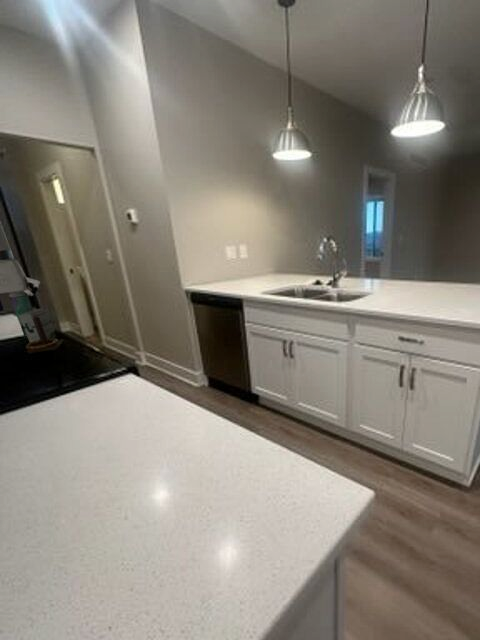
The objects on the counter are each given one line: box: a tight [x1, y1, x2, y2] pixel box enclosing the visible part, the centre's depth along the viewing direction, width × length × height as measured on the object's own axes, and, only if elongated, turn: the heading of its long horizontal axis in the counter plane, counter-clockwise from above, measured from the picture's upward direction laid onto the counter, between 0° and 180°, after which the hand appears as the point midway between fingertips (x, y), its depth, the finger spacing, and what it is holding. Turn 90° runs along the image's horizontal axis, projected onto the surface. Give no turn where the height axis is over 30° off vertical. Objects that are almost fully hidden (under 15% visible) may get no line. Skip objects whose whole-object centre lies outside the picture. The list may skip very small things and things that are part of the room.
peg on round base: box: [26, 317, 65, 354], centre depth 122 cm, size 9×9×12 cm
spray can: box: [8, 291, 33, 337], centre depth 138 cm, size 6×6×20 cm
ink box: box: [19, 307, 58, 343], centre depth 131 cm, size 9×5×12 cm, turn 178°
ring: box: [24, 337, 59, 350], centre depth 123 cm, size 9×9×1 cm
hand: (18, 308), depth 117 cm, fingers open, 9 cm apart
